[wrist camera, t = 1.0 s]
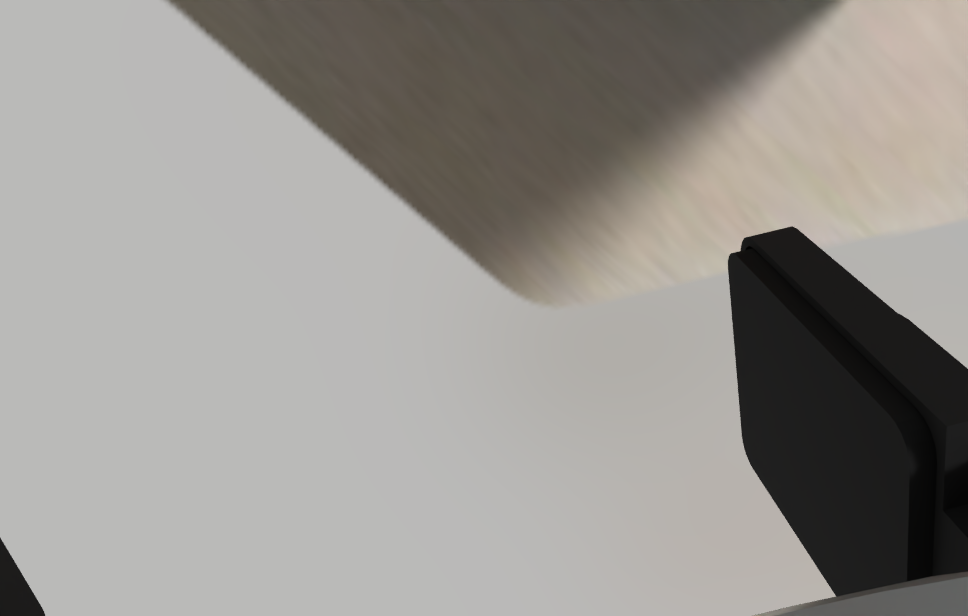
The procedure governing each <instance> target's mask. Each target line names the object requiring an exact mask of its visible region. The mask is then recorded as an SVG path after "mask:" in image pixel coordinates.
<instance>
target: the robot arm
mask: <svg viewBox="0 0 968 616" xmlns="http://www.w3.org/2000/svg"><path fill="white" fill-rule="evenodd" d="M728 272H729V284H730V296H731V307H732V321H733V332H734V344H735V356H736V368H737V380H738V393H739V405H740V417H741V429H742V439H743V444H744V448H745V452H746V455H747V457H748V460H749V462H750V464H751V466H752V468H753V469H754V471H755V472H756V474H757V475H758V477H759V479H760V480H761V482H762V483H763V485H764V486H765V488H766V489H767V491H768V492H769V494H770V495H771V497H772V498H773V500H774V502H775V503H776V504H777V506H778V508H779V509H780V511H781V512H782V514H783V515H784V516H785V518H786V520H787V521H788V523H789V525H790V526H791V528H792V529H793V531H794V532H795V534H796V535H797V537H798V538H799V540H800V541H801V543H802V544H803V546H804V548H805V549H806V551H807V552H808V554H809V555H810V557H811V558H812V560H813V561H814V563H815V564H816V566H817V567H818V569H819V571H820V572H821V574H822V575H823V577H824V578H825V580H826V581H827V583H828V584H829V586H830V587H831V589H832V590H833V592H834V593H835V595H836V597H832V598H828V599H824V600H818V601H814V602H810V603H804V604H799V605H795V606H791V607H786V608H782V609H778V610H775V611H770V612H766V613H762V614H758V615H754V616H968V369H967V368H966V367H965V366H963V365H962V364H961V363H960V362H959V361H958V360H956V359H955V358H954V357H953V356H951V355H950V354H949V353H948V352H947V351H946V350H944V349H943V348H942V347H941V346H940V345H938V344H937V343H936V342H935V341H934V340H932V339H931V338H930V337H929V336H928V335H926V334H925V333H924V332H923V331H922V330H920V329H919V328H918V327H917V326H916V325H914V324H913V323H912V322H911V321H910V320H909V319H907V318H905V317H903V316H902V315H900V314H898V313H897V312H895V311H894V310H893V309H892V308H890V307H889V306H888V305H887V304H886V303H885V302H883V301H882V300H881V299H880V298H879V297H877V296H876V295H875V294H874V293H873V292H871V291H870V290H869V289H868V288H867V287H865V286H864V285H863V284H862V283H861V282H860V281H858V280H857V279H856V278H855V277H854V276H852V275H851V274H850V273H849V272H848V271H846V270H845V269H844V268H843V267H842V266H841V265H839V264H838V263H837V262H836V261H834V260H833V259H832V258H831V257H830V256H829V255H827V254H826V253H825V252H824V251H823V250H822V249H820V248H819V247H818V246H817V245H816V244H814V243H813V242H812V241H811V240H810V239H809V238H807V237H806V236H805V235H804V234H803V233H801V232H800V231H799V230H798V229H796V228H794V227H788V228H784V229H780V230H775V231H771V232H767V233H763V234H759V235H755V236H751V237H746V238H744V240H743V241H742V246H741V251H740V252H735V253H731V254H730V256H729V259H728ZM0 616H45V614H44V611H43V609H42V607H41V605H40V604H39V602H38V600H37V599H36V597H35V595H34V594H33V592H32V590H31V589H30V587H29V585H28V584H27V582H26V580H25V578H24V577H23V575H22V573H21V572H20V570H19V569H18V567H17V565H16V563H15V562H14V560H13V558H12V557H11V555H10V553H9V552H8V550H7V549H6V547H5V545H4V543H3V542H2V540H1V538H0Z"/></svg>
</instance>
